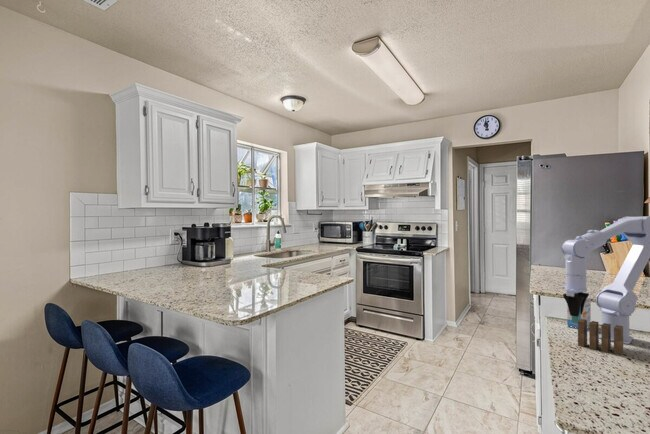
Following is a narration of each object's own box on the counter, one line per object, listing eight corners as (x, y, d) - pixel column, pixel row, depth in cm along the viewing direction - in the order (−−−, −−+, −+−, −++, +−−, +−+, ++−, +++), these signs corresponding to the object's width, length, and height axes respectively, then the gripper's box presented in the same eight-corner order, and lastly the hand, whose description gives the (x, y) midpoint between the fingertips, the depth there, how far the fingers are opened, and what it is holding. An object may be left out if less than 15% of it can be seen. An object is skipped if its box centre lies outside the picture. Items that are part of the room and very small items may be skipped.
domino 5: (614, 354, 103) (613, 327, 103) (616, 350, 106) (616, 325, 106) (621, 355, 102) (620, 328, 102) (623, 352, 104) (623, 326, 105)
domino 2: (578, 345, 110) (577, 321, 110) (581, 343, 112) (581, 318, 113) (584, 347, 109) (583, 322, 109) (587, 344, 111) (586, 319, 111)
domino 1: (571, 322, 115) (571, 298, 115) (575, 320, 118) (574, 297, 118) (577, 323, 114) (577, 299, 114) (580, 321, 116) (580, 298, 117)
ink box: (582, 330, 126) (581, 290, 127) (566, 326, 131) (566, 288, 131) (591, 326, 131) (591, 288, 131) (576, 323, 135) (575, 286, 136)
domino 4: (601, 351, 105) (601, 325, 105) (604, 348, 108) (604, 322, 108) (608, 352, 104) (607, 326, 104) (610, 349, 107) (610, 324, 107)
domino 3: (589, 348, 108) (589, 323, 108) (592, 345, 110) (592, 320, 110) (595, 349, 106) (595, 324, 107) (598, 346, 109) (598, 322, 109)
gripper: (567, 271, 124) (568, 309, 123) (555, 275, 114) (555, 316, 114) (592, 274, 118) (592, 313, 118) (581, 278, 109) (581, 320, 109)
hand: (576, 314), depth 116 cm, fingers closed on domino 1, 4 cm apart
